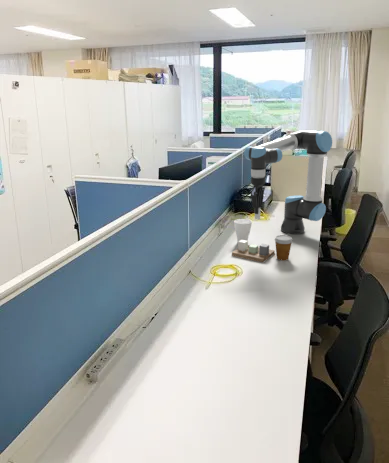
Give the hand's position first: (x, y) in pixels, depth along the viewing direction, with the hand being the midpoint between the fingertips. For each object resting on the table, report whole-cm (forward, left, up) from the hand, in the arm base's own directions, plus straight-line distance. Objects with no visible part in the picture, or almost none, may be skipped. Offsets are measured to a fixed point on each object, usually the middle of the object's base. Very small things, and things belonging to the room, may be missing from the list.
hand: (257, 218), depth 226 cm
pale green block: (+3, 0, -20) cm, 20 cm away
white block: (+3, -7, -18) cm, 20 cm away
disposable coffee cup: (0, +16, -20) cm, 26 cm away
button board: (+3, 0, -20) cm, 20 cm away
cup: (-11, -15, -20) cm, 27 cm away
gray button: (+3, +6, -18) cm, 20 cm away
